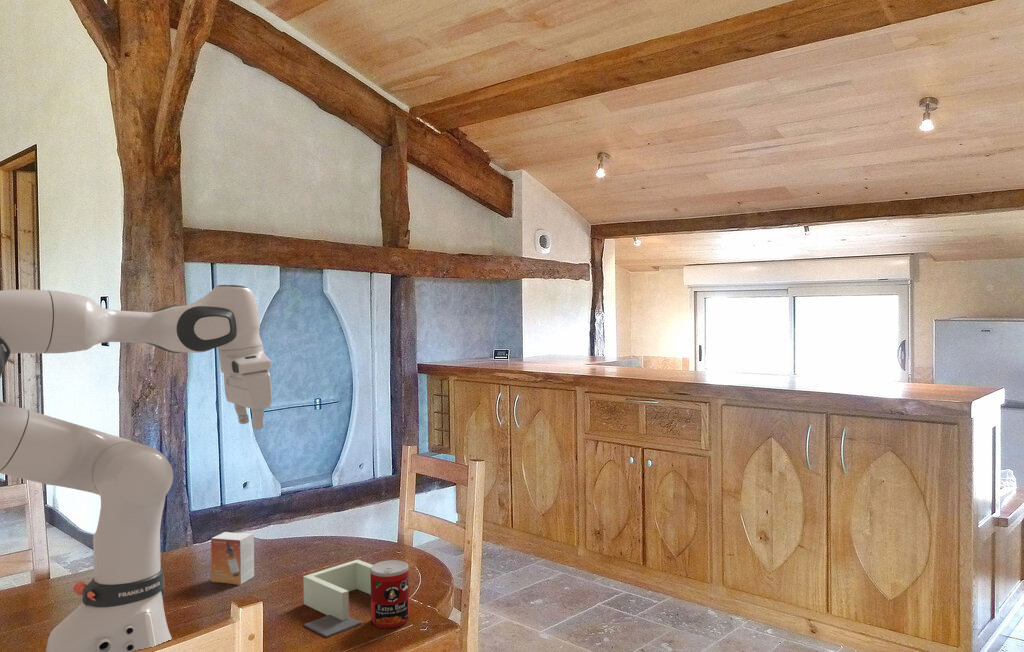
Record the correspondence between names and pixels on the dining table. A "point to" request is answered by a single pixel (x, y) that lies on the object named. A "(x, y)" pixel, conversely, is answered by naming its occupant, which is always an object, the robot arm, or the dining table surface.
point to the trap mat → (331, 625)
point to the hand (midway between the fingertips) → (251, 426)
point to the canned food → (389, 593)
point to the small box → (232, 558)
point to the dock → (336, 587)
